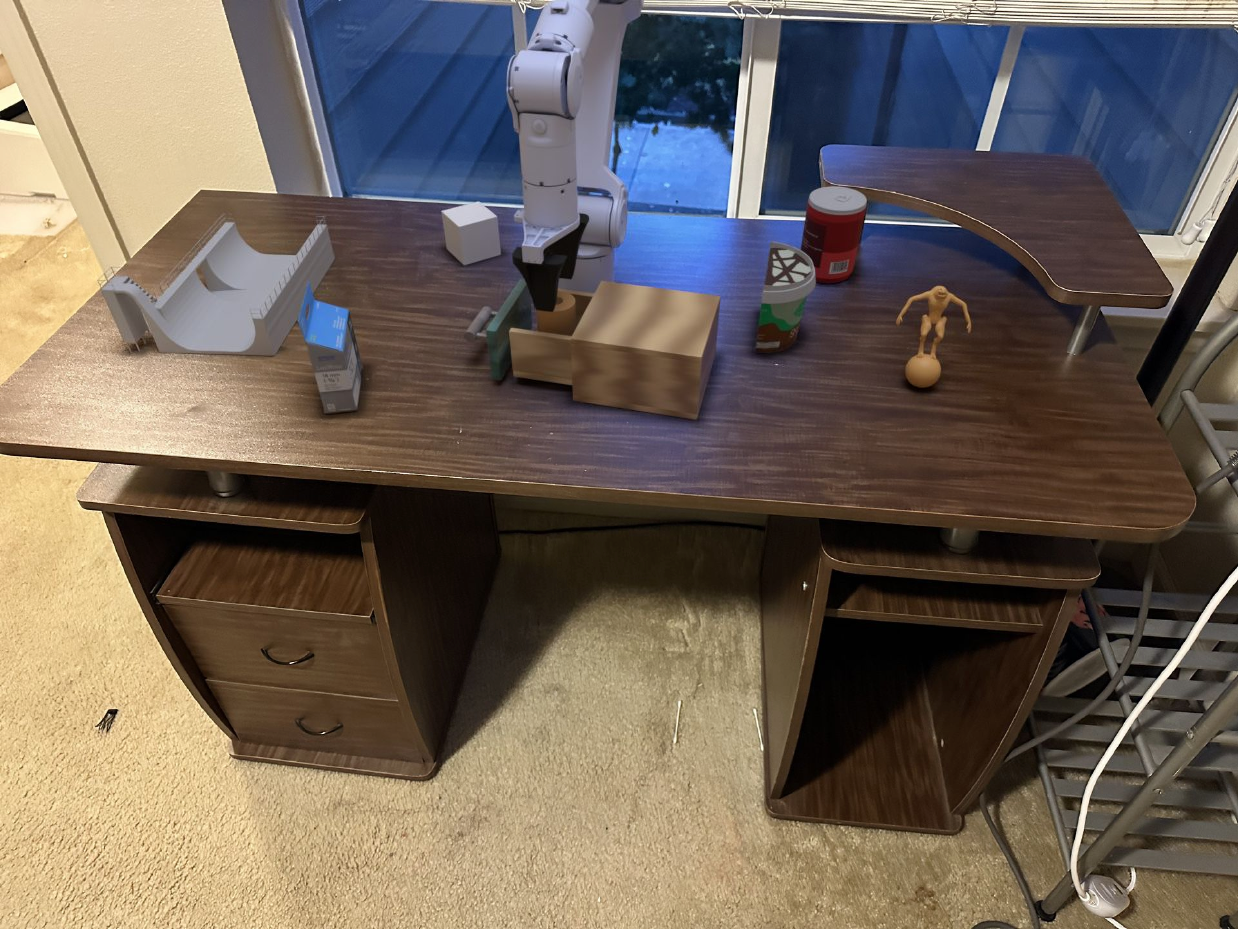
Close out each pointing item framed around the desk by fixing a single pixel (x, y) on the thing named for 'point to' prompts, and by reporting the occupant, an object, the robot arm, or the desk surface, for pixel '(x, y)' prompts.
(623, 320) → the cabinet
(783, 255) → the food container
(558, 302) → the paper roll
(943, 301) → the figurine
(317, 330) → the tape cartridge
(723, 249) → the desk surface
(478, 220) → the white cube
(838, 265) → the canned food
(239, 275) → the skate ramp
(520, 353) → the drawer
